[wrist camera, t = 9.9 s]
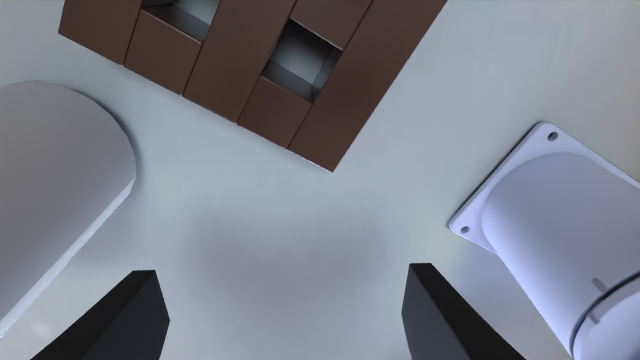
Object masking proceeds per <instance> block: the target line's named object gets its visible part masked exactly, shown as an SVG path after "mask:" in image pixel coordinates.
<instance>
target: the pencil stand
mask: <svg viewBox="0 0 640 360" xmlns="http://www.w3.org/2000/svg"><path fill="white" fill-rule="evenodd" d="M173 2H174V0H65V3H64V7H63V12H62V16H61V21H60V26H59V30H58V33H59V34H61V35H62V36H64V37H66V38H68V39H70V40H72V41H74V42H76V43H78V44H80V45H82V46H84V47H86V48H88V49H90V50H92V51H94V52H96V53H98V54H100V55H102V56H104V57H106V58H107V59H109V60H111V61H113V62H115V63H117V64H119V65H123V66H124V67H125V68H127V69H129V70H131V71H133V72H135V73H137V74H139V75H141V76H143V77H145V78H147V79H149V80H151V81H153V82H155V83H157V84H159V85H161V86H163V87H165V88H166V89H168V90H170V91H172V92H174V93H176V94H178V95H181V96H182V95H183V97H184V98H186V99H188V100H190V101H192V102H194V103H196V104H198V105H200V106H202V107H204V108H206V109H207V110H209V111H211V112H213V113H215V114H217V115H219V116H221V117H223V118H225V119H227V120H229V121H231V122H233V123H237V125H238V126H240V127H242V128H244V129H246V130H248V131H250V132H252V133H254V134H256V135H258V136H260V137H262V138H264V139H266V140H268V141H270V142H272V143H274V144H275V145H277V146H279V147H281V148H283V149H287V150H288V151H290V152H292V153H294V154H295V155H297V156H299V157H301V158H303V159H305V160H307V161H309V162H311V163H313V164H315V165H317V166H319V167H321V168H323V169H325V170H327V171H329V172H331V173H332V172H333V171H334V170H335V168H336V167H337V165H338V164H339V162H340V161H341V159H342V158H343V156H344V155H345V153H346V152H347V150H348V149H349V147H350V146H351V144H352V143H353V141H354V140H355V138H356V137H357V135H358V134H359V132H360V131H361V129H362V128H363V126H364V125H365V123H366V122H367V120H368V119H369V117H370V116H371V114H372V113H373V111H374V110H375V108H376V107H377V105H378V104H379V102H380V101H381V99H382V98H383V96H384V95H385V93H386V92H387V90H388V89H389V87H390V86H391V84H392V83H393V81H394V80H395V78H396V77H397V75H398V74H399V72H400V71H401V69H402V68H403V66H404V65H405V63H406V62H407V60H408V59H409V57H410V56H411V54H412V53H413V51H414V50H415V48H416V47H417V45H418V44H419V42H420V41H421V39H422V38H423V36H424V35H425V33H426V32H427V30H428V29H429V27H430V26H431V24H432V23H433V21H434V20H435V18H436V17H437V15H438V14H439V12H440V11H441V9H442V8H443V6H444V5H445V3H446V2H447V0H220V3H219V5H218V8H217V10H216V13H215V15H214V18H213V20H212V23H211V25H208V24H206V23H204V22H203V21H201V20H199V19H197V18H196V17H194V16H192V15H191V14H189V13H187V12H185V11H184V10H182V9H180V8H178V7H177V6H175V5H173ZM289 18H290V19H292V20H294V21H295V22H297V23H298V24H300V25H302V26H303V27H305V28H307V29H308V30H310V31H311V32H313V33H315V34H316V35H318V36H319V37H321V38H323V39H324V40H326V41H327V42H329V43H331V44H332V45H334V47H333V49H332V51H331V52H330V54H329V56H328V58H327V60H326V61H325V63H324V65H323V67H322V68H321V70H320V72H319V74H318V75H317V77H316V79H315V81H314V83H313V84H310V83H309V82H307V81H305V80H303V79H302V78H300V77H298V76H296V75H295V74H293V73H291V72H289V71H288V70H286V69H284V68H283V67H281V66H279V65H277V64H276V63H274V62H272V61H270V60H269V59H270V57H271V55H272V53H273V51H274V49H275V47H276V45H277V43H278V41H279V39H280V37H281V35H282V33H283V31H284V29H285V27H286V25H287V22H288V20H289Z"/></svg>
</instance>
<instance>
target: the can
mask: <svg viewBox="0 0 640 360" xmlns="http://www.w3.org/2000/svg"><path fill="white" fill-rule="evenodd" d="M135 178H136V160H135V155H134V152H133V150H132V147H131V145H130V142H129V139H128V137H127V135H126V134H125V133H124V131H123V130H122V129H121V127H120V126H119V125H118V123H117V122H116V121H115V119H114V118H113V117H112V116H111V115H110V114H109V113H108V112H107V111H105V110H104V109H103V108H102V107H100V106H99V105H98V104H97V103H95V102H94V101H93V100H92V99H90V98H88V97H86V96H84V95H82V94H80V93H78V92H76V91H74V90H72V89H69V88H67V87H65V86H61V85H56V84H51V83H46V82H41V81H32V82H24V83H15V84H11V85H7V86H4V87H1V88H0V338H1V337H2V336H3V335H4V334H5V333H6V331H7V330H8V329H9V328H10V327H11V326H12V325H13V324H14V322H15V321H16V320H17V319H18V318H19V317H20V316H21V315H22V313H23V312H24V311H25V310H26V309H27V308H28V307H29V306H30V305H31V303H32V302H33V301H34V300H35V299H36V298H37V297H38V296H39V294H40V293H41V292H42V291H43V290H44V289H45V288H46V287H47V285H48V284H49V283H50V282H51V281H52V280H53V279H54V278H55V276H56V275H57V274H58V273H59V272H60V271H61V270H62V269H63V267H64V266H65V265H66V264H67V263H68V262H69V261H70V260H71V259H72V257H73V256H74V255H75V254H76V253H77V252H78V251H79V250H80V248H81V247H82V246H83V245H84V244H85V243H86V242H87V241H88V239H89V238H90V237H91V236H92V235H93V234H94V233H95V232H96V230H97V229H98V228H99V227H100V226H101V225H102V224H103V223H104V221H105V220H106V219H107V218H108V217H109V216H110V215H111V214H112V212H113V211H114V210H115V209H116V208H117V207H118V206H119V205H120V204H121V202H122V201H123V200H124V199H125V198H126V197H127V196H128V195H129V193H130V191H131V189H132V186H133V183H134V181H135Z"/></svg>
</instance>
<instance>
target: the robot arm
mask: <svg viewBox="0 0 640 360" xmlns="http://www.w3.org/2000/svg"><path fill="white" fill-rule="evenodd" d="M552 132H553V135H552V136H551V137H550V138H548V135H549V134H550V133H552ZM465 226H466V228H465V229H461V228H462V227H465ZM449 227H450V229H451V231H453V232H454V233H456V234H458V235H460V236H462V237H464V238H466V239H468V240H470V241H472V242H474V243H476V244H478V245H480V246H482V247H483V248H485V249H487V250H489V251H491V252H493V253H495V254H497V255H499V256H500V258H501V259H502V260H503V262H504V263H505V265H506V266H507V267H508V269H509V270H510V272H511V273H512V274H513V276H514V277H515V279H516V280H517V281H518V283H519V284H520V286H521V287H522V288H523V290H524V291H525V293H526V294H527V296H528V297H529V298H530V300H531V301H532V303H533V304H534V305H535V307H536V308H537V310H538V311H539V312H540V314H541V315H542V317H543V318H544V319H545V321H546V322H547V324H548V325H549V326H550V328H551V329H552V331H553V332H554V333H555V335H556V336H557V338H558V339H559V340H560V342H561V343H562V345H563V346H564V347H565V349H566V350H567V352H568V353H569V354H570V356H571V357H572V359H573V360H640V183H638V182H637V181H636V180H634V179H633V178H631V177H630V176H628V175H627V174H625V173H624V172H622V171H621V170H619V169H618V168H617V167H615V166H614V165H612V164H611V163H609V162H608V161H606V160H605V159H603V158H602V157H600V156H599V155H597V154H596V153H595V152H593V151H592V150H590V149H589V148H587V147H586V146H584V145H583V144H581V143H580V142H578V141H577V140H576V139H574V138H573V137H571V136H570V135H568V134H567V133H565V132H564V131H562V130H561V129H559V128H558V127H557V126H555V125H554V124H552V123H550V122H548V121H542V122H540V123H538V124H537V125H536V126H535V127H534V128H533V129H532V130H531V131H530V133H529V134H528V135H527V136H526V137H525V138H524V139H523V140H522V141H521V142H520V144H519V145H518V146H517V147H516V148H515V149H514V150H513V151H512V152H511V154H510V155H509V156H508V157H507V158H506V159H505V160H504V161H503V162H502V163H501V165H500V166H499V167H498V168H497V169H496V170H495V171H494V172H493V173H492V175H491V176H490V177H489V178H488V179H487V180H486V181H485V182H484V183H483V185H482V186H481V187H480V188H479V189H478V190H477V191H476V192H475V193H474V194H473V196H472V197H471V198H470V199H469V200H468V201H467V202H466V203H465V204H464V206H463V207H462V208H461V209H460V210H459V211H458V212H457V213H456V214H455V215H454V217H453V218H452V219H451V220H450V221H449ZM401 314H402V319H403V324H404V328H405V333H406V338H407V342H408V347H409V350H410V353H411V357H412V360H526V359H525V358H524V357H523V356H521V355H520V354H519V353H518V352H517V351H516V350H515V349H514V348H513V347H512V346H511V345H510V344H509V343H507V342H506V341H505V340H504V339H503V338H502V337H501V336H500V335H499V334H498V333H497V332H496V331H495V330H494V329H493V328H492V327H491V326H490V325H489V324H488V323H487V322H486V321H485V320H484V319H483V318H482V317H481V316H480V315H479V314H478V313H477V312H476V311H475V310H474V309H473V308H472V307H471V306H470V305H469V304H468V303H467V302H466V301H465V300H464V298H463V297H462V296H461V295H460V294H459V293H458V292H457V291H456V290H455V289H454V288H453V287H452V286H451V284H450V283H449V282H448V281H447V280H446V279H445V278H444V277H443V276H442V275H441V274H440V272H439V271H438V270H437V269H436V268H435V267H434V266H433V265H432V264H431V263H411V264H409V270H408V276H407V282H406V289H405V295H404V301H403V307H402V313H401ZM169 322H170V319H169V315H168V312H167V309H166V305H165V302H164V298H163V295H162V292H161V288H160V285H159V281H158V278H157V275H156V271H155V270H137V271H132V272H131V273H130V274H129V275H127V276H126V277H125V278H124V279H123V280H122V281H121V282H119V283H118V284H117V285H116V286H115V287H114V288H113V289H112V290H110V291H109V292H108V293H107V294H106V295H105V296H104V297H103V298H102V299H101V300H99V301H98V302H97V303H96V304H95V305H94V306H93V307H92V308H90V309H89V310H88V311H87V312H86V313H85V314H84V315H83V316H81V317H80V318H79V319H78V320H77V321H76V322H75V323H73V324H72V325H71V326H70V327H69V328H68V329H67V330H65V331H64V332H63V333H62V334H61V335H60V336H58V337H57V338H56V339H55V340H54V341H52V342H51V343H50V344H49V345H47V346H46V347H45V348H44V349H43V350H41V351H40V352H39V353H38V354H37V355H35V356H34V357H33V358H32V359H30V360H159V358H160V355H161V351H162V348H163V345H164V341H165V337H166V334H167V330H168V326H169Z"/></svg>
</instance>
